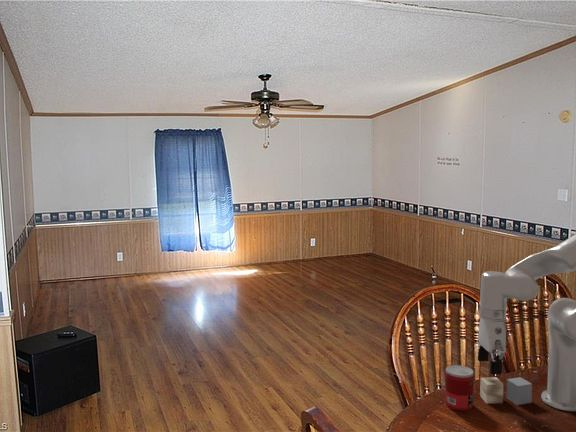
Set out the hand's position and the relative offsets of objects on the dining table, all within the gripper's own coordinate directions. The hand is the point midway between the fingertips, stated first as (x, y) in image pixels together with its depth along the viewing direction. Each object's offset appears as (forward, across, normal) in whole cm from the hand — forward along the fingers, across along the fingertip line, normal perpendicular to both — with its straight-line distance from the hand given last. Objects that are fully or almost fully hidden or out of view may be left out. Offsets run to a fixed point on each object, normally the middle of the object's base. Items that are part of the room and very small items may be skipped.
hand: (489, 367), depth 159 cm
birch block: (+10, 0, -1) cm, 10 cm away
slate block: (+10, -1, -9) cm, 14 cm away
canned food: (+11, -3, +10) cm, 15 cm away
